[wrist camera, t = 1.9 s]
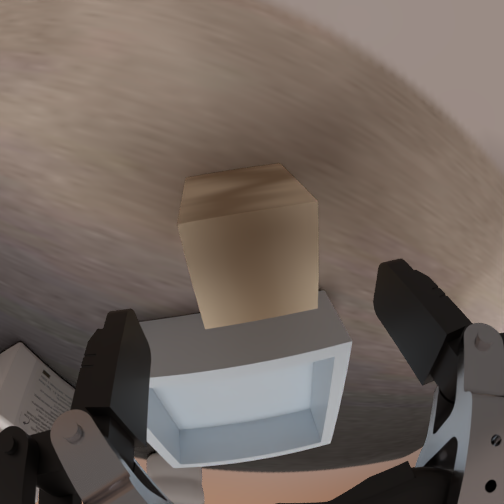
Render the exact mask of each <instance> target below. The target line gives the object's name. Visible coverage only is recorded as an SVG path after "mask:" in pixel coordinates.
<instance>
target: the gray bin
mask: <svg viewBox="0 0 504 504" xmlns="http://www.w3.org/2000/svg"><path fill="white" fill-rule="evenodd" d="M139 323H140V326H141V328H142V330H143V332H144V334H145V337H146V339H147V341H148V343H149V347H150V351H151V370H150V383H149V397H148V416H147V442H148V443H149V444H150V445H151V446H152V447H153V448H154V449H155V450H156V451H157V452H158V453H159V454H160V455H161V456H162V457H163V458H164V459H165V460H166V461H167V462H168V463H169V464H170V465H171V466H172V467H173V468H189V467H203V466H214V465H223V464H231V463H239V462H246V461H252V460H258V459H264V458H270V457H275V456H280V455H285V454H289V453H294V452H298V451H302V450H307V449H311V448H314V447H318V446H322V445H326V444H329V443H331V439H332V435H333V431H334V428H335V423H336V419H337V415H338V411H339V407H340V402H341V398H342V393H343V388H344V384H345V379H346V374H347V368H348V363H349V358H350V352H351V346H352V339H351V338H350V336H349V334H348V332H347V330H346V328H345V326H344V325H343V323H342V321H341V319H340V317H339V315H338V314H337V312H336V310H335V308H334V306H333V305H332V303H331V301H330V299H329V297H328V296H327V294H326V292H325V290H322V291H318V308H317V309H312V310H308V311H303V312H298V313H293V314H288V315H283V316H278V317H273V318H268V319H263V320H257V321H252V322H246V323H241V324H235V325H229V326H223V327H217V328H211V329H205V327H204V324H203V320H202V317H201V313H198V314H191V315H185V316H178V317H171V318H165V319H158V320H150V321H143V322H139Z"/></svg>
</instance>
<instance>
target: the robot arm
mask: <svg viewBox="0 0 504 504" xmlns="http://www.w3.org/2000/svg"><path fill="white" fill-rule="evenodd" d="M373 303H374V309H375V312H376V315H377V317H378V318H379V320H380V321H381V323H382V324H383V325H384V327H385V328H386V330H387V331H388V333H389V334H390V336H391V337H392V339H393V340H394V342H395V343H396V345H397V346H398V348H399V350H400V351H401V353H402V354H403V356H404V357H405V359H406V360H407V362H408V363H409V365H410V367H411V368H412V370H413V371H414V373H415V375H416V376H417V378H418V379H419V381H420V383H421V384H422V386H423V385H425V384H427V383H429V382H432V381H435V382H436V384H437V386H436V388H435V391H434V398H433V405H432V412H431V418H430V424H429V429H428V434H427V439H426V442H425V444H424V446H423V448H422V450H421V452H420V455H419V457H418V460H417V463H416V466H415V467H413V468H411V467H410V465H409V463H408V461H406V462H404V463H402V464H400V465H398V466H395V467H393V468H391V469H388V470H386V471H384V472H381V473H379V474H376V475H374V476H371V477H369V478H367V479H366V480H364V481H363V482H361V483H360V484H358V485H356V486H355V487H353V488H352V489H350V490H348V491H347V492H345V493H343V494H342V495H340V496H338V497H336V498H335V499H333V500H331V501H328V502H319V503H277V504H504V333H498V331H497V330H495V329H494V328H493V327H491V326H489V325H487V324H484V323H474V324H472V323H471V322H470V320H469V319H468V318H467V317H466V316H465V315H464V314H463V313H462V311H461V310H460V309H459V308H458V307H457V306H456V305H455V304H454V303H453V302H452V301H451V299H450V298H449V297H448V296H445V293H444V292H443V291H442V290H441V289H440V288H438V286H437V285H436V284H435V283H434V282H433V281H432V280H431V279H430V278H429V277H428V276H426V275H425V274H423V273H421V272H419V271H417V270H413V269H412V268H411V267H410V266H409V265H408V264H407V263H406V262H405V261H404V260H403V259H396V260H392V261H388V262H383V263H381V264H380V265H379V268H378V274H377V281H376V287H375V293H374V300H373ZM84 355H85V357H84V358H83V361H82V365H81V366H82V368H80V372H79V376H78V380H77V384H76V388H75V392H74V396H73V400H72V405H71V409H70V410H69V411H66V412H64V413H62V414H61V415H60V416H59V417H58V418H57V419H56V420H55V421H54V423H53V425H52V428H51V430H47V431H44V432H40V433H36V434H32V435H28V434H27V433H26V432H25V431H24V430H23V429H21V428H20V427H18V426H9V427H7V428H5V429H4V430H2V431H1V432H0V504H35V497H36V487H38V488H39V504H82V502H83V504H174V503H173V502H171V501H170V499H169V498H168V497H167V496H166V495H165V494H164V493H163V492H162V491H161V490H160V489H159V487H158V486H157V485H156V484H155V483H154V482H153V481H152V479H151V478H150V477H149V476H148V475H147V473H146V472H145V471H144V470H143V469H142V468H141V466H140V465H139V464H138V462H137V461H136V460H135V459H134V447H146V445H147V416H148V397H149V383H150V370H151V351H150V347H149V343H148V341H147V339H146V337H145V334H144V332H143V330H142V328H141V326H140V323H139V321H138V319H137V317H136V314H135V312H134V311H133V310H132V309H124V310H117V311H110V312H109V313H108V314H107V317H106V321H105V324H104V328H103V329H97V330H96V332H95V333H94V334H93V336H92V337H91V338H90V340H89V341H88V344H87V347H86V351H85V354H84Z"/></svg>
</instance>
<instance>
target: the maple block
mask: <svg viewBox="0 0 504 504" xmlns="http://www.w3.org/2000/svg"><path fill="white" fill-rule="evenodd" d="M177 226H178V230H179V234H180V238H181V242H182V246H183V250H184V254H185V258H186V262H187V266H188V270H189V274H190V277H191V281H192V285H193V288H194V292H195V296H196V299H197V303H198V306H199V310H200V313H201V317H202V320H203V324H204V327H205V329H211V328H217V327H223V326H229V325H235V324H241V323H246V322H252V321H257V320H263V319H268V318H273V317H278V316H283V315H288V314H293V313H298V312H303V311H308V310H312V309H317V308H318V276H319V224H318V201H317V200H316V199H315V198H314V197H313V196H312V195H311V194H310V193H309V192H308V191H307V190H306V189H305V188H304V187H303V186H302V185H301V184H300V183H299V182H298V181H297V180H296V179H295V178H294V177H293V176H292V175H291V174H290V173H289V172H288V171H287V170H286V169H285V168H284V167H283V166H282V165H281V164H280V163H277V164H269V165H261V166H254V167H247V168H241V169H234V170H228V171H222V172H215V173H210V174H204V175H198V176H193V177H187V178H186V180H185V185H184V190H183V195H182V200H181V205H180V211H179V216H178V222H177Z"/></svg>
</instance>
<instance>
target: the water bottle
mask: <svg viewBox="0 0 504 504" xmlns="http://www.w3.org/2000/svg"><path fill="white" fill-rule="evenodd" d="M147 475H148V476H149V477H150V478H151V479H152V481H153V482H154V483H155V484H156V485H157V486H158V487H159V489H160V490H161V491H162V492H163V493H164V494H165V495H166V496H167V497H168V498H169V499H170V501H171V502H173V503H174V504H204V493H203V488H202V467H189V468H173V467H172V466H171V465H170V464H169V463H168V462H167V461H166V460H165V459H164V458H163V457H162V456H161V455H160V454H159V453H158V452H156V453H154V454H152V455H150V456H149V457H148V459H147Z"/></svg>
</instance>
